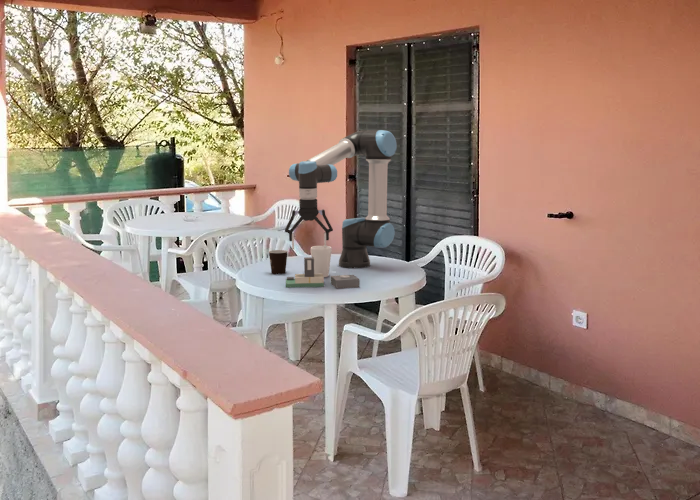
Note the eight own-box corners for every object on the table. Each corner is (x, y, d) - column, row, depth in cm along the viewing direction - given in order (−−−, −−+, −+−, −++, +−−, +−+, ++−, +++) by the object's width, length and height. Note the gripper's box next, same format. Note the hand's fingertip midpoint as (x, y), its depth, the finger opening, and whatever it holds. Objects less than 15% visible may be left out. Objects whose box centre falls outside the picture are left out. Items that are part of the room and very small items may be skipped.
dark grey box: (353, 282, 326) (353, 273, 325) (359, 287, 317) (359, 277, 316) (330, 283, 324) (330, 274, 323) (336, 288, 314) (336, 279, 313)
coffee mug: (284, 275, 343) (284, 253, 341) (266, 274, 345) (266, 252, 343) (291, 270, 354) (291, 249, 353) (274, 269, 356) (273, 248, 354)
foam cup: (324, 278, 335) (323, 249, 333) (307, 276, 340) (306, 248, 337) (335, 275, 343) (335, 246, 340) (318, 273, 347) (318, 245, 345)
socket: (322, 279, 326) (322, 273, 325) (323, 282, 318) (323, 277, 318) (295, 279, 325) (295, 274, 324) (295, 283, 317) (295, 277, 317)
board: (322, 281, 329) (322, 276, 328) (323, 286, 318) (323, 281, 318) (285, 282, 327) (285, 276, 327) (285, 287, 317) (285, 282, 316)
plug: (313, 280, 324) (313, 257, 322) (314, 282, 319) (314, 259, 317) (304, 280, 323) (304, 257, 322) (304, 282, 319) (304, 259, 317)
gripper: (278, 199, 311) (279, 250, 315) (338, 198, 313) (339, 249, 317) (278, 198, 319) (279, 247, 322) (337, 196, 320) (338, 246, 324)
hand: (309, 248), depth 319 cm, fingers open, 13 cm apart
